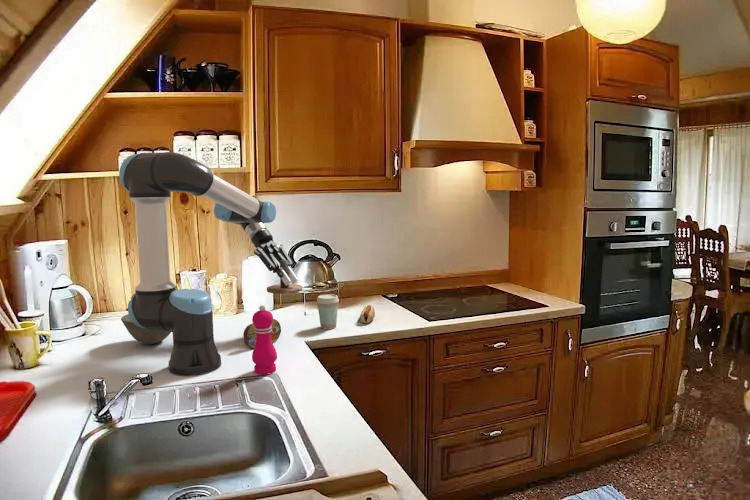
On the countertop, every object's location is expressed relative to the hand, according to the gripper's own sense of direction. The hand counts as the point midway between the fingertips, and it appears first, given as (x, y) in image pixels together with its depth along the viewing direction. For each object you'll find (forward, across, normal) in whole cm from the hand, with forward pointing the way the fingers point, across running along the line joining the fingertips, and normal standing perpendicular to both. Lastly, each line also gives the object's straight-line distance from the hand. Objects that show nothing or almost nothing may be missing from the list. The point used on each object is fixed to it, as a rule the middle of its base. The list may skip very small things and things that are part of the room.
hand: (292, 282), depth 193 cm
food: (+22, -30, -5) cm, 37 cm away
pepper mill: (+28, +33, +1) cm, 43 cm away
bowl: (-10, +35, -38) cm, 53 cm away
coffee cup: (+17, -13, -10) cm, 24 cm away
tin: (+14, +16, -13) cm, 25 cm away
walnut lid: (0, 0, -5) cm, 5 cm away
